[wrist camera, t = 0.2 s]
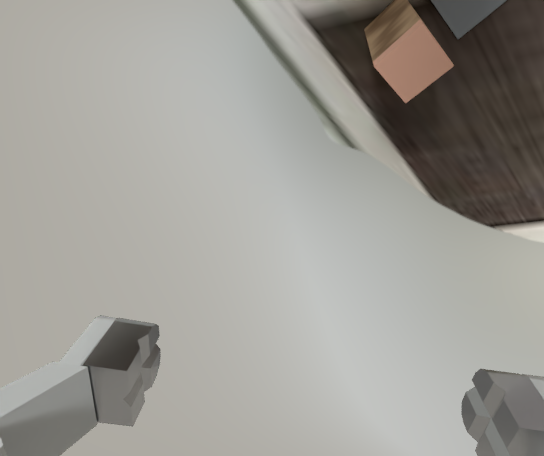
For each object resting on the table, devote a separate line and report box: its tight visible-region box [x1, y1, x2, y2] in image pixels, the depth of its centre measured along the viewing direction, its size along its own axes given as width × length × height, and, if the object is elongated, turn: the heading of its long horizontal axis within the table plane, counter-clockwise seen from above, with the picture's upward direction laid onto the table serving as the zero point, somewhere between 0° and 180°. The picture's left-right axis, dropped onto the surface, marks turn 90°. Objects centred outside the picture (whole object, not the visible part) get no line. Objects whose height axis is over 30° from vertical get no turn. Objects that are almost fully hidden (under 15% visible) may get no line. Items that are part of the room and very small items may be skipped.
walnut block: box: [364, 0, 454, 103], centre depth 44 cm, size 6×6×14 cm
